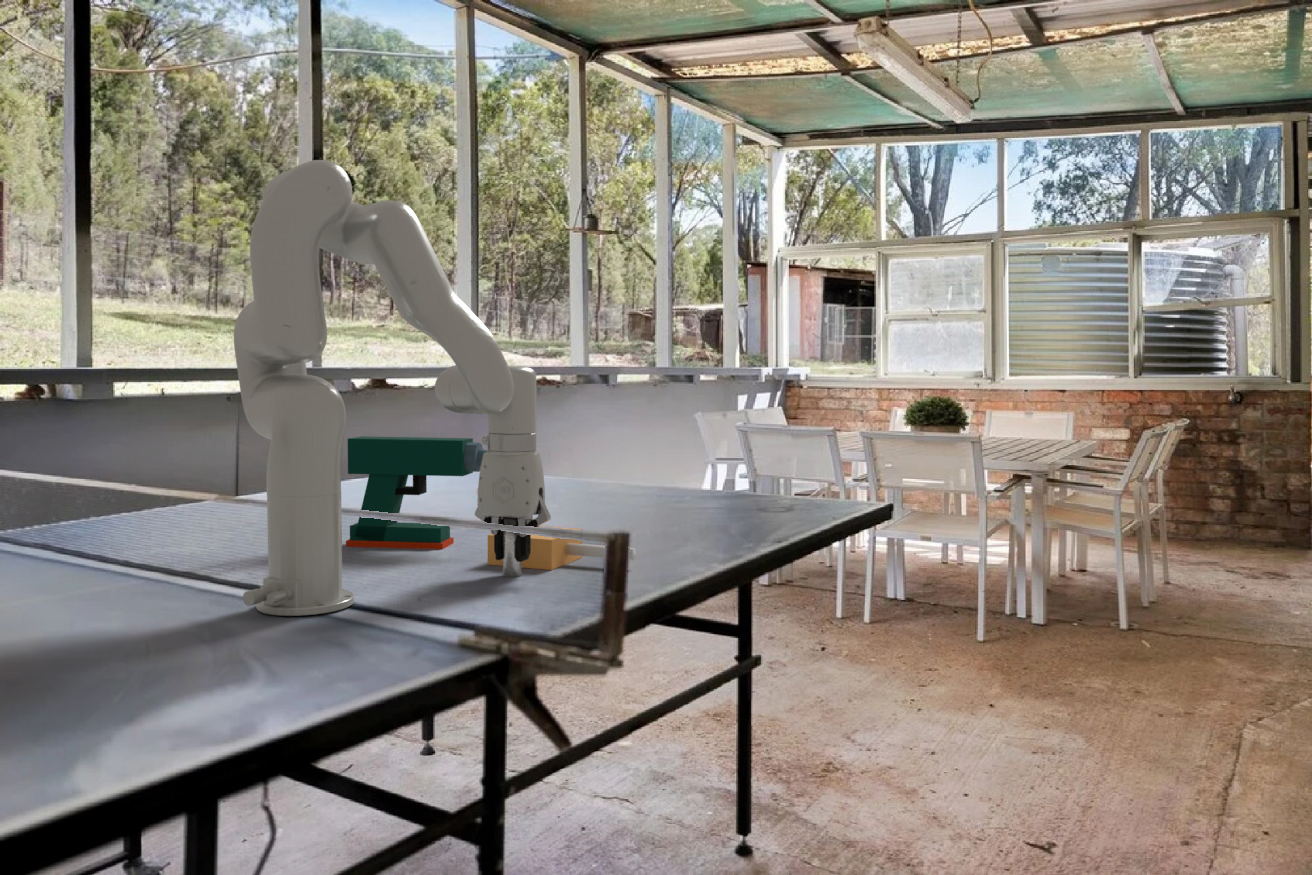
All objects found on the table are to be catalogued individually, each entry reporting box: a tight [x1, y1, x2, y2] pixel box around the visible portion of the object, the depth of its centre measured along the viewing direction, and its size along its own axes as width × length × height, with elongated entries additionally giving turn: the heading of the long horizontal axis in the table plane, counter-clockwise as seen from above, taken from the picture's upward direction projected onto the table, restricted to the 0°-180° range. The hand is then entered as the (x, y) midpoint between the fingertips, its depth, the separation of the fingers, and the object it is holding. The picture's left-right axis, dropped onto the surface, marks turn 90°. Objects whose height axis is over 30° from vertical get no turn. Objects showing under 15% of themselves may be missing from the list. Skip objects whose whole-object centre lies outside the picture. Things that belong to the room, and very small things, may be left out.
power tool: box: [345, 435, 488, 550], centre depth 178 cm, size 32×7×20 cm, turn 84°
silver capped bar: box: [502, 517, 523, 578], centre depth 153 cm, size 3×3×10 cm
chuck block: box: [487, 525, 636, 571], centre depth 163 cm, size 12×24×5 cm, turn 70°
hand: (512, 558), depth 153 cm, fingers closed on silver capped bar, 3 cm apart
